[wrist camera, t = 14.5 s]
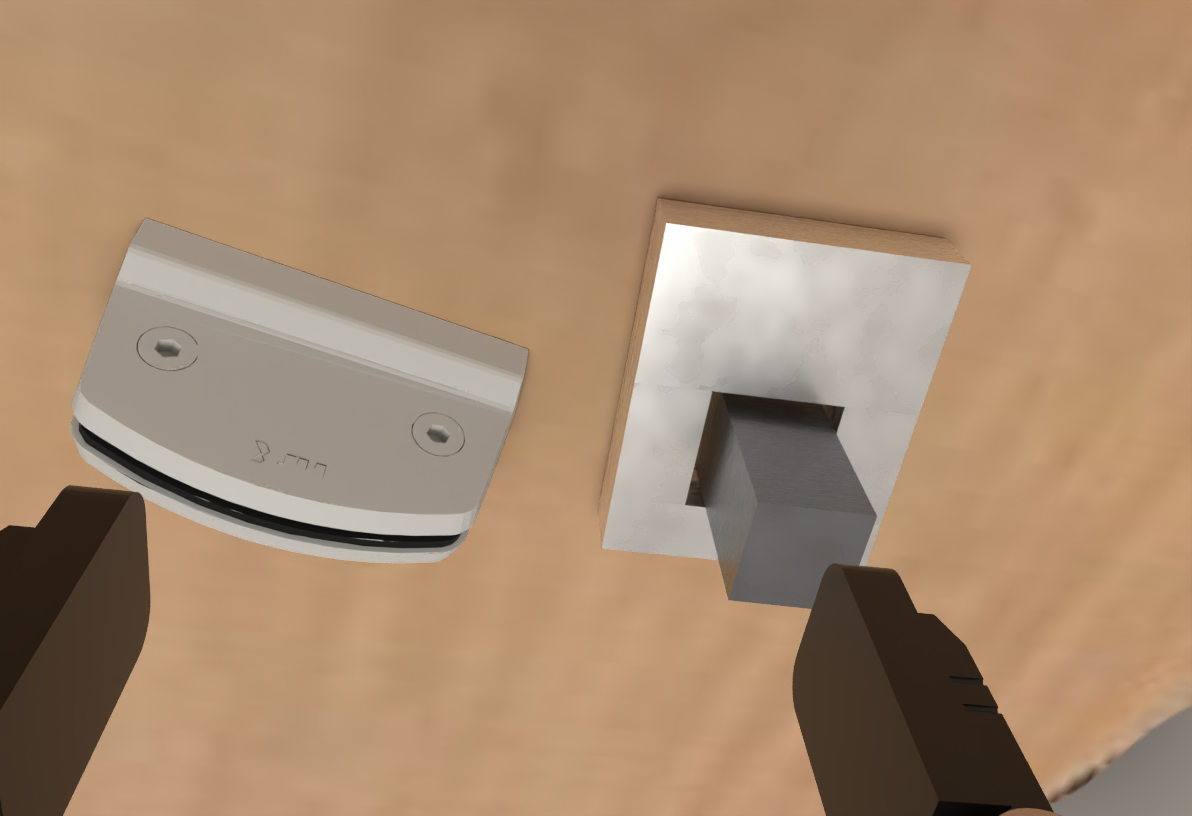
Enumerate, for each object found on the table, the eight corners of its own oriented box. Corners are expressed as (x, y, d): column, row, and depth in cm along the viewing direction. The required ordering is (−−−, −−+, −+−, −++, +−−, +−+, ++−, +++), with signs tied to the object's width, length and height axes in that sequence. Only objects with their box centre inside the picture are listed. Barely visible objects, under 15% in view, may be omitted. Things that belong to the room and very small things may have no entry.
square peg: (714, 371, 45) (757, 501, 36) (812, 385, 46) (877, 516, 37) (692, 457, 47) (728, 599, 39) (786, 469, 48) (842, 612, 39)
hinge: (538, 352, 44) (505, 546, 38) (503, 419, 48) (467, 607, 41) (135, 213, 41) (17, 401, 34) (127, 296, 44) (19, 482, 37)
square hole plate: (657, 197, 41) (666, 222, 39) (944, 238, 43) (971, 264, 40) (597, 509, 48) (601, 548, 46) (845, 534, 50) (863, 574, 47)
